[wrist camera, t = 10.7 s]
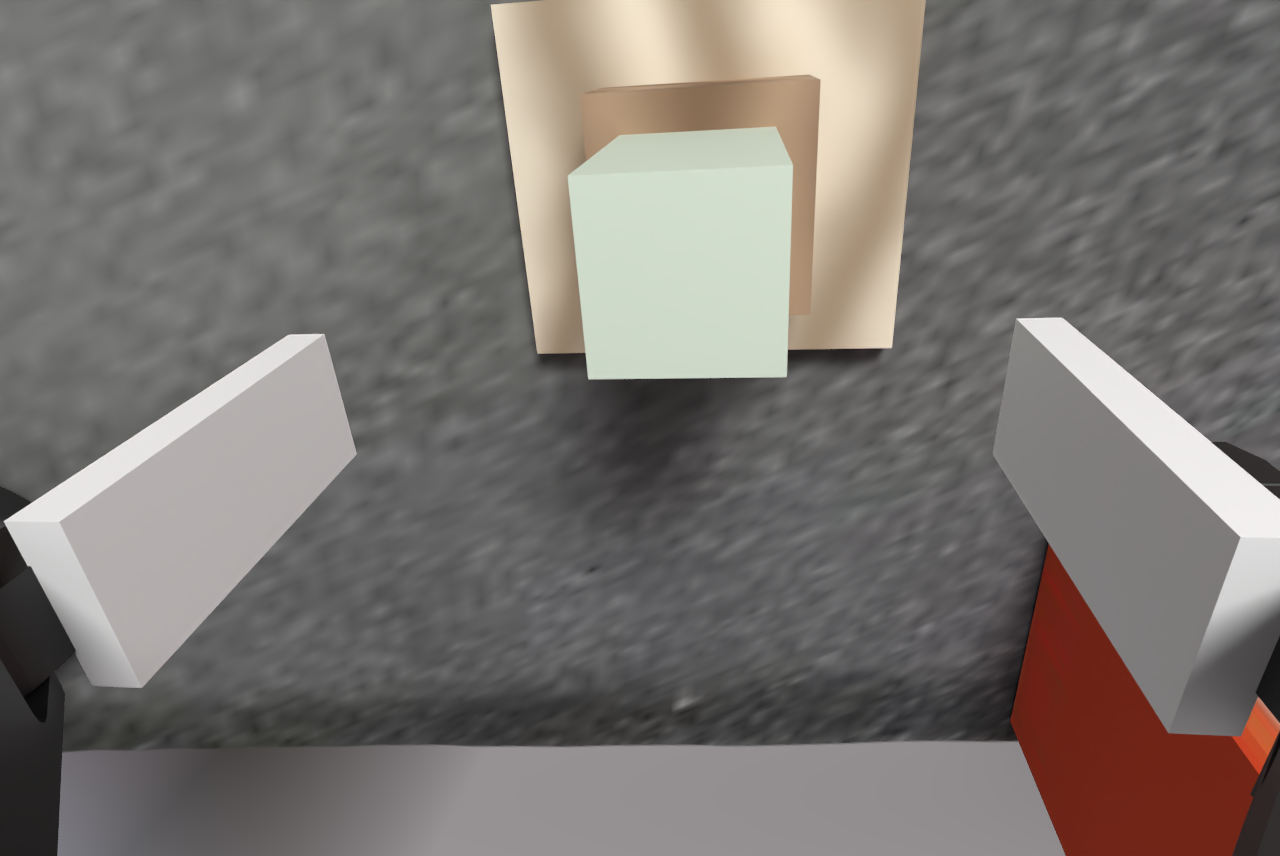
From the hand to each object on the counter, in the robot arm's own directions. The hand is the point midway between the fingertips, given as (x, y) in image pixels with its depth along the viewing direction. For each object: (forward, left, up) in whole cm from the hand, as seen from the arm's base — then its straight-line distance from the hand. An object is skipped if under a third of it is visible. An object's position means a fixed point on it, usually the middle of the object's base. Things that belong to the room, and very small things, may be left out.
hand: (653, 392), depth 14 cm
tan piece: (0, 0, -24) cm, 24 cm away
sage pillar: (0, 0, -18) cm, 18 cm away
